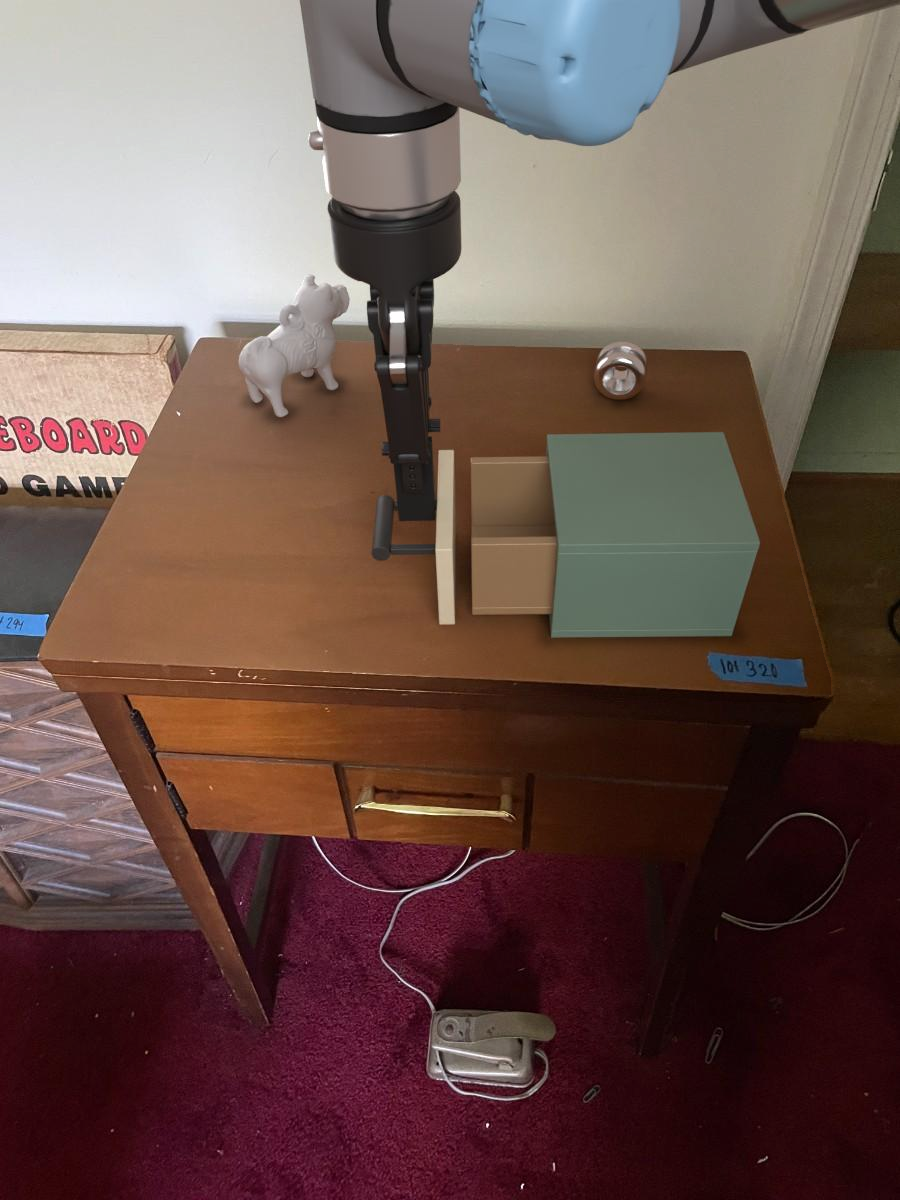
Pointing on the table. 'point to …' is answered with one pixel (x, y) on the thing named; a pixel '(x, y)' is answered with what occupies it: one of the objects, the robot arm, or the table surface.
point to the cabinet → (648, 535)
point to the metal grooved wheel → (616, 381)
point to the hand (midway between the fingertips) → (417, 513)
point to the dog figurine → (296, 343)
